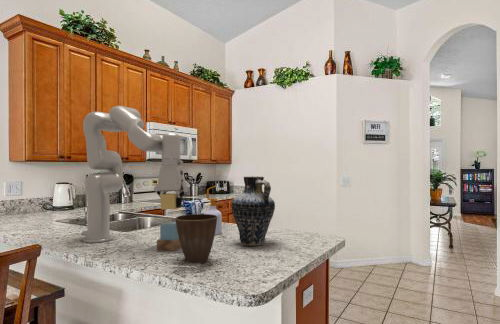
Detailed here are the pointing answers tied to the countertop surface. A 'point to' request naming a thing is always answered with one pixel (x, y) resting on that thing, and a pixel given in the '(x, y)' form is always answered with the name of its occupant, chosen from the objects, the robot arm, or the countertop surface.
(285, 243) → the countertop surface
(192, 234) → the plant pot
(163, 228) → the blue brick
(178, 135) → the robot arm
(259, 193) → the jug
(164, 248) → the walnut base brick
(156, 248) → the grey flat board
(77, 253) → the countertop surface
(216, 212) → the soap bottle
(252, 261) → the countertop surface
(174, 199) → the ochre brick
